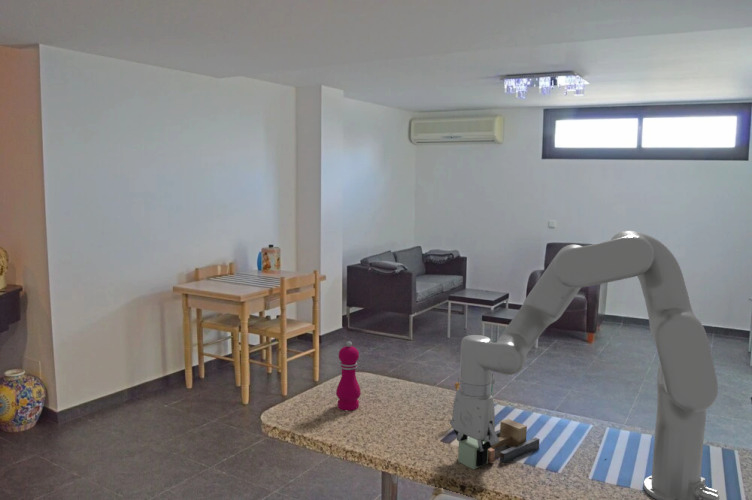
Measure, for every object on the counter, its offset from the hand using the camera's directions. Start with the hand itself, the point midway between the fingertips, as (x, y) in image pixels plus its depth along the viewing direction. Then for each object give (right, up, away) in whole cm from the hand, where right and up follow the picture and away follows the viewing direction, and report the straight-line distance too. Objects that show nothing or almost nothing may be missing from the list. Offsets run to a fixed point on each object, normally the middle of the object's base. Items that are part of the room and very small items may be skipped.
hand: (472, 459), depth 148 cm
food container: (+9, +3, +37) cm, 38 cm away
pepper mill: (-32, +4, +35) cm, 47 cm away
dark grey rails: (+10, 0, +8) cm, 13 cm away
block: (0, -1, 0) cm, 1 cm away
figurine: (+1, +2, +24) cm, 25 cm away
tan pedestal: (+8, 0, +6) cm, 10 cm away
